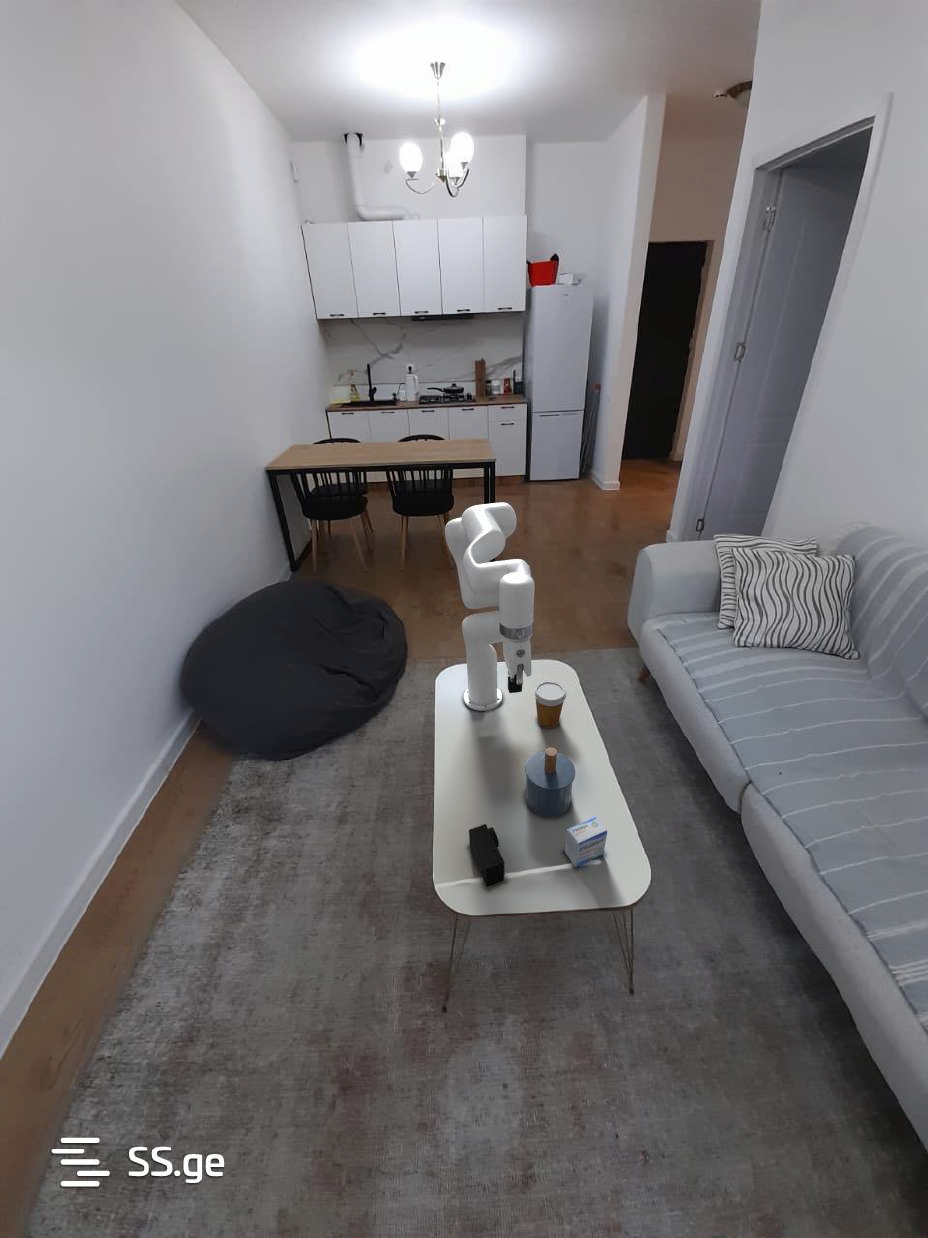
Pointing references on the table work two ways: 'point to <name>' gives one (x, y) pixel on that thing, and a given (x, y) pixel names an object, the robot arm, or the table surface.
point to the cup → (548, 799)
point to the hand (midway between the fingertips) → (514, 690)
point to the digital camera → (487, 854)
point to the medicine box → (585, 841)
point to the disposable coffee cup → (549, 703)
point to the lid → (550, 770)
